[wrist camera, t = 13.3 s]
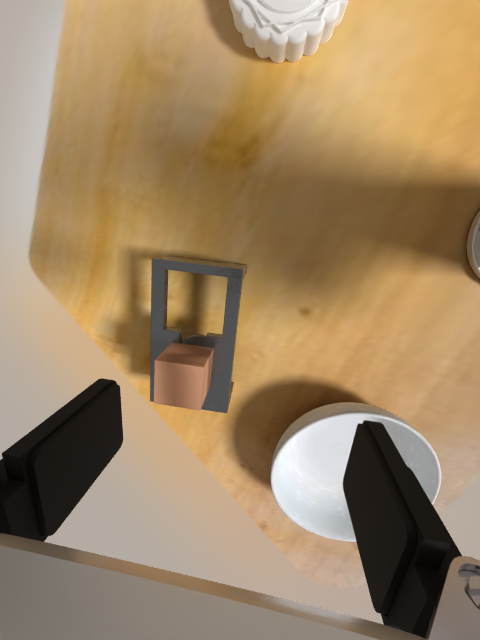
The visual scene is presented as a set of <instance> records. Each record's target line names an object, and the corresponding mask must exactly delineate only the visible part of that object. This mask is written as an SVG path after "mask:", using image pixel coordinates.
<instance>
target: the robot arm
mask: <svg viewBox="0 0 480 640" xmlns="http://www.w3.org/2000/svg"><path fill="white" fill-rule="evenodd" d="M467 256H468V260H469V263H470V265H471V268H472V270H473V271H474V273H475V274H476V275H477V276H478V277H479V279H480V210H479V212H478V213H477V215H476V217H475V218H474V220H473V223H472V225H471V228H470V230H469V234H468V239H467ZM122 442H123V429H122V413H121V397H120V386H119V385H117V383H116V381H114V380H108V379H99V380H97V381H96V382H94V383H93V384H92V385H91V386H89V387H88V388H87V389H85V390H84V391H83V392H81V393H80V394H79V395H77V396H76V397H75V398H74V399H72V400H71V401H70V402H69V403H67V404H66V405H64V406H63V407H62V408H61V409H59V410H58V411H57V412H55V413H54V414H53V415H51V416H50V417H49V418H48V419H46V420H45V421H44V422H42V423H41V424H40V425H38V426H37V427H36V428H35V429H33V430H32V431H31V432H29V433H28V434H27V435H26V436H24V437H23V438H21V439H20V440H19V441H18V442H16V443H15V444H14V445H12V446H11V447H10V448H8V449H7V450H6V451H5V452H3V453H2V456H3V459H1V460H0V640H480V561H479V560H477V559H474V558H472V557H465V556H462V555H461V553H460V552H459V550H458V548H457V546H456V545H455V543H454V541H453V540H452V538H451V536H450V534H449V533H448V531H447V530H446V528H445V526H444V524H443V522H442V521H441V519H440V517H439V515H438V514H437V512H436V510H435V509H434V507H433V505H432V503H431V502H430V500H429V498H428V496H427V495H426V493H425V491H424V490H423V488H422V486H421V484H420V483H419V481H418V479H417V478H416V476H415V474H414V473H413V471H412V470H411V469H410V468H409V467H408V466H407V465H406V464H405V462H404V460H403V458H402V457H401V455H400V453H399V451H398V450H397V448H396V446H395V444H394V442H393V441H392V439H391V437H390V435H389V434H388V432H387V430H386V428H385V427H384V425H383V424H382V423H381V422H374V421H368V420H364V421H363V423H362V424H361V423H359V424H358V425H357V428H356V432H355V436H354V439H353V443H352V447H351V451H350V455H349V458H348V462H347V466H346V470H345V474H344V477H343V491H344V495H345V499H346V503H347V507H348V510H349V514H350V518H351V522H352V526H353V530H354V534H355V537H356V541H357V545H358V549H359V553H360V557H361V561H362V565H363V568H364V572H365V576H366V580H367V584H368V588H369V592H370V596H371V599H372V603H373V606H374V608H375V611H376V612H378V613H381V616H382V619H383V623H384V625H383V624H379V623H376V622H372V621H368V620H364V619H361V618H357V617H353V616H349V615H345V614H342V613H338V612H334V611H331V610H327V609H323V608H319V607H315V606H311V605H307V604H303V603H299V602H294V601H290V600H286V599H283V598H278V597H274V596H270V595H266V594H262V593H258V592H254V591H250V590H246V589H242V588H237V587H234V586H229V585H225V584H221V583H217V582H213V581H208V580H204V579H200V578H196V577H192V576H187V575H183V574H179V573H175V572H171V571H167V570H162V569H158V568H154V567H149V566H146V565H141V564H137V563H133V562H129V561H124V560H120V559H116V558H111V557H107V556H103V555H98V554H94V553H90V552H85V551H81V550H77V549H72V548H68V547H64V546H59V545H54V544H51V543H46V542H44V541H45V539H46V538H47V537H48V536H51V535H53V534H54V533H55V532H56V531H57V530H58V528H59V527H60V526H61V524H62V523H63V522H64V520H65V519H66V518H67V517H68V515H69V514H70V513H71V511H72V510H73V509H74V507H75V506H76V505H77V504H78V502H79V501H80V500H81V498H82V497H83V496H84V494H85V493H86V492H87V491H88V489H89V488H90V487H91V485H92V484H93V483H94V481H95V480H96V479H97V477H98V476H99V475H100V474H101V472H102V471H103V470H104V468H105V467H106V466H107V464H108V463H109V462H110V461H111V459H112V458H113V457H114V455H115V454H116V453H117V451H118V450H119V449H120V447H121V445H122Z"/></svg>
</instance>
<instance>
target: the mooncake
mask: <svg viewBox="0 0 480 640" xmlns="http://www.w3.org/2000/svg"><path fill="white" fill-rule="evenodd" d="M348 1H349V0H229V5H230V9H231V11H232V13H233V19H234V25H235V28H236V29H237V31H238V32H240V33H242V36H243V41H244V43H245V45H246V46H247V47H249V48H255V51H256V54H257V55H258V56H259V57H261V58H267V57H270V59H271V60H272V61H273V62H275V63H281V62H283V61H284V60H285V59H287V60H288V61H289V62H296V61H298V60H299V59H300V58H301V57H302V55H305V56H310V55H312V54H314V53H315V52H316V50H317V49H318V46H319V44H323V43H326V42H327V41H328V40H329V39H330V38H331V36H332V33H333V30H334V27H336V26H337V25H338V24H339V23H340V22H341V20H342V19H343V16H344V13H345V10H346V7H347V4H348Z"/></svg>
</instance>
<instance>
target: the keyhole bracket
mask: <svg viewBox="0 0 480 640" xmlns="http://www.w3.org/2000/svg"><path fill="white" fill-rule="evenodd" d="M168 270H175V271H183V272H191V273H199V274H207V275H216V276H224V277H228V284H227V294H226V305H225V315H224V326H223V335H222V334H214V333H207V335H206V345H205V347H209V348H214V349H213V360H212V371H211V382H210V387H209V390H208V392H207V395H206V397H205V400H204V402H203V405H202V407H201V409H203V410H209V411H216V412H222V413H227V411H228V407H229V403H230V398H231V394H232V390H233V383H234V382H231V378H232V369H233V360H234V352H235V343H236V334H237V325H238V316H239V307H240V298H241V289H242V280H243V277H244V275H245V274H246V270H247V265H242V264H234V263H226V262H217V261H209V260H201V259H192V258H184V257H176V256H167V257H159V258H152V287H151V375H150V401H152V402H154V373H155V359H156V358H157V357H158V356H159V355H160V354H161V353H162V352H163V351H164V350H165V349H166V348H167V347H168V346H169V345H170V344H171V343H172V342H175V343H181V338H182V329H178V328H171V327H167V296H168Z"/></svg>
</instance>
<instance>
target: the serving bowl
mask: <svg viewBox="0 0 480 640" xmlns="http://www.w3.org/2000/svg"><path fill="white" fill-rule="evenodd" d="M364 420H368V421H374V422H381V423H382V424H383V425H384V427H385V428H386V430H387V432H388V434H389V435H390V437H391V439H392V441H393V442H394V444H395V446H396V448H397V450H398V451H399V453H400V455H401V457H402V458H403V460H404V462H405V464H406V465H407V466H408V467H409V468H410V469H411V470H412V471H413V473H414V474H415V476H416V478H417V479H418V481H419V483H420V484H421V486H422V488H423V490H424V491H425V493H426V495H427V496H428V498H429V500H430V502H431V503H432V505H433V503H434V501H435V499H436V497H437V495H438V492H439V489H440V484H441V469H440V464H439V460H438V458H437V455H436V453H435V451H434V450H433V448H432V446H431V445H430V444H429V442H428V441H427V440H426V439H425V438H424V437H423V436H422V435H421V434H420V433H419V432H418V431H417V430H416V429H415V428H413V427H412V426H411V425H410V424H409V423H407V422H406V421H404V420H403V419H401V418H400V417H398V416H397V415H395V414H393V413H391V412H389V411H387V410H384V409H382V408H379V407H376V406H373V405H368V404H363V403H354V402H343V403H334V404H329V405H325V406H321V407H318V408H316V409H313V410H311V411H309V412H307V413H305V414H304V415H302V416H301V417H299V418H298V419H297V420H296V421H294V422H293V423H292V424H291V425H290V426H289V427H288V428H287V430H286V431H285V432H284V434H283V435H282V437H281V438H280V440H279V442H278V444H277V446H276V449H275V452H274V455H273V460H272V465H271V472H270V482H271V488H272V492H273V495H274V498H275V500H276V502H277V504H278V505H279V507H280V508H281V510H282V511H283V512H284V513H285V514H286V515H287V516H288V517H289V518H290V519H291V520H292V521H293V522H295V523H296V524H298V525H299V526H301V527H302V528H304V529H306V530H308V531H310V532H312V533H314V534H317V535H320V536H323V537H327V538H330V539H336V540H342V541H356V537H355V534H354V530H353V526H352V522H351V518H350V514H349V510H348V507H347V503H346V499H345V495H344V491H343V477H344V474H345V470H346V466H347V462H348V458H349V455H350V451H351V447H352V443H353V439H354V436H355V432H356V428H357V425H358V424H359V423H361V424H362V423H363V421H364Z"/></svg>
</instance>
